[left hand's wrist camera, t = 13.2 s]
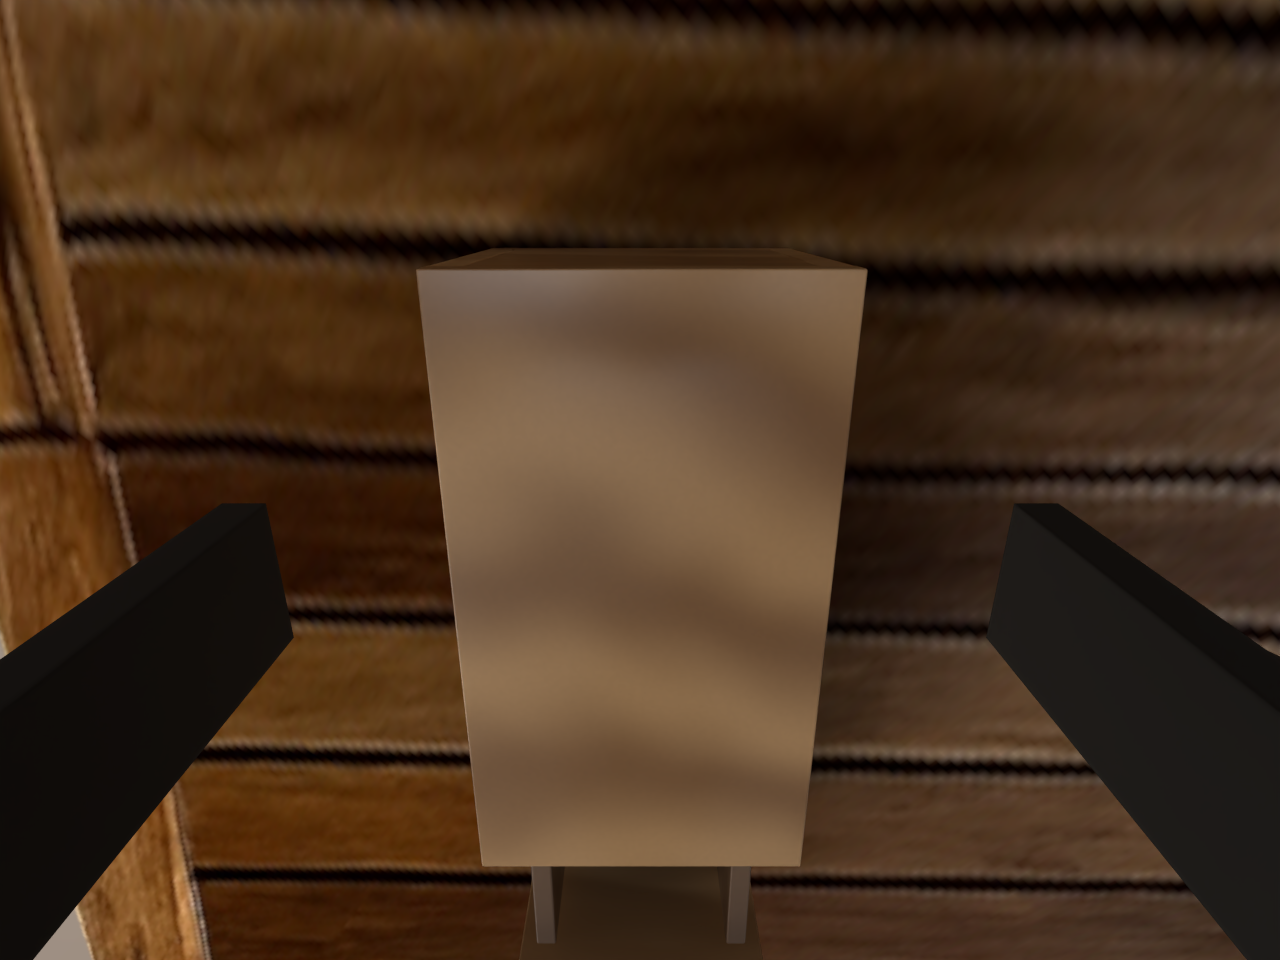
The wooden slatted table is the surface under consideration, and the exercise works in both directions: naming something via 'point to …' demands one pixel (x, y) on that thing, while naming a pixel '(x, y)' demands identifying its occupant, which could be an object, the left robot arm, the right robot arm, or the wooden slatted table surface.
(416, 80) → the wooden slatted table surface
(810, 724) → the cabinet
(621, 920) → the drawer
